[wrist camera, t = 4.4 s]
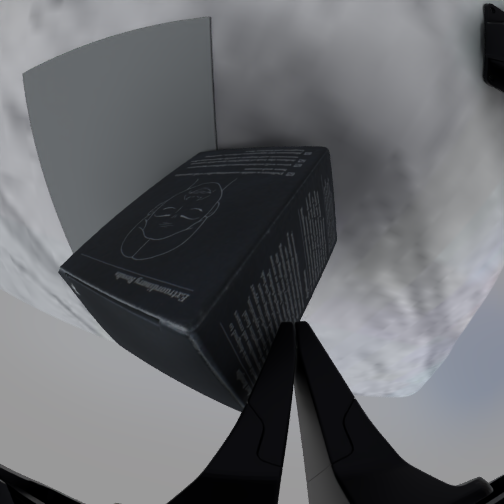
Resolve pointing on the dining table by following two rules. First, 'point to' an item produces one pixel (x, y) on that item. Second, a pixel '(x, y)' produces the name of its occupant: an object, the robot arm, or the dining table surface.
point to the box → (212, 264)
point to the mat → (120, 118)
